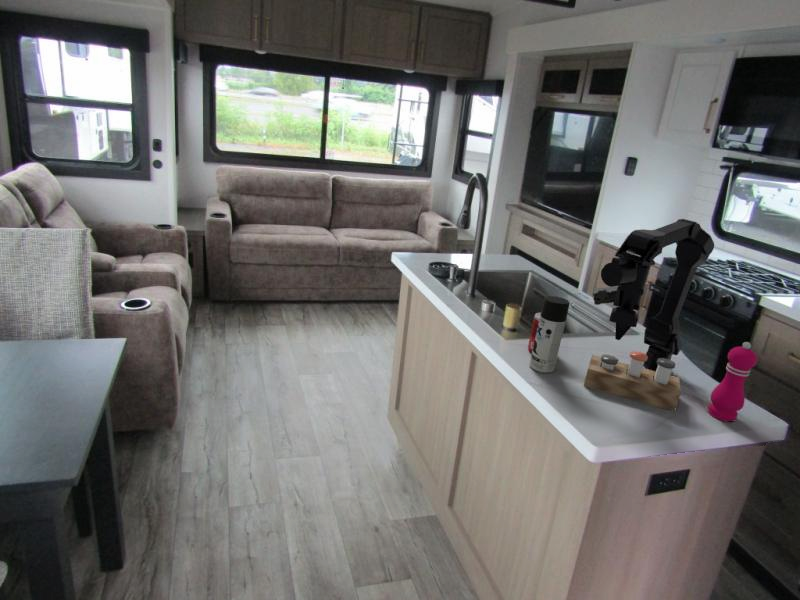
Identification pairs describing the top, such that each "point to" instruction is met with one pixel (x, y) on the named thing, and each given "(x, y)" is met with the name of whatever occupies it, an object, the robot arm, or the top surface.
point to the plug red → (636, 363)
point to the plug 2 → (663, 370)
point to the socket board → (633, 384)
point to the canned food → (534, 331)
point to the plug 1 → (608, 361)
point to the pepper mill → (732, 384)
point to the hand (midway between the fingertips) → (617, 339)
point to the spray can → (549, 334)
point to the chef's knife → (694, 393)
